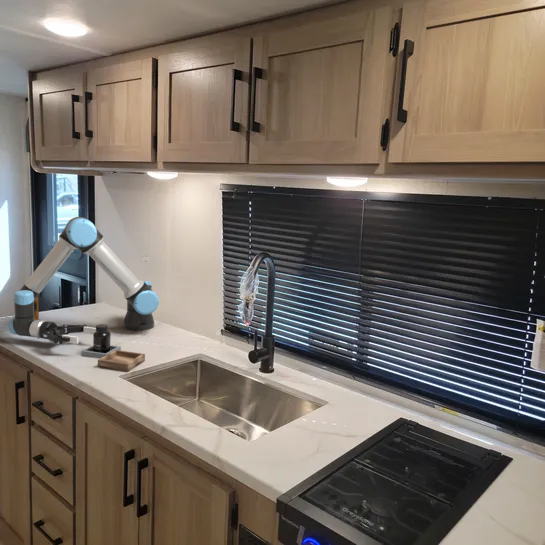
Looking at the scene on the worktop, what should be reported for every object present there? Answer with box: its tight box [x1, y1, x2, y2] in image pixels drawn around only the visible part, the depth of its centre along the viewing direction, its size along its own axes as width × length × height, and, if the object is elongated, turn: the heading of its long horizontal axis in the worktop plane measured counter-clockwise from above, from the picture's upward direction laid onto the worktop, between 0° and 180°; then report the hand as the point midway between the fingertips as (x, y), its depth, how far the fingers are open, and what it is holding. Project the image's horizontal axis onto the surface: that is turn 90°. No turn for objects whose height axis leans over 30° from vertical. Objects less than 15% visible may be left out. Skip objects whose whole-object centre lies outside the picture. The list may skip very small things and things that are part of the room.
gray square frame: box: [81, 344, 122, 359], centre depth 205 cm, size 11×11×2 cm
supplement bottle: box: [92, 323, 112, 353], centre depth 204 cm, size 7×7×12 cm
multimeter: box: [34, 296, 40, 320], centre depth 237 cm, size 15×10×20 cm
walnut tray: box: [97, 350, 146, 373], centre depth 194 cm, size 13×13×3 cm
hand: (87, 335), depth 205 cm, fingers open, 13 cm apart
